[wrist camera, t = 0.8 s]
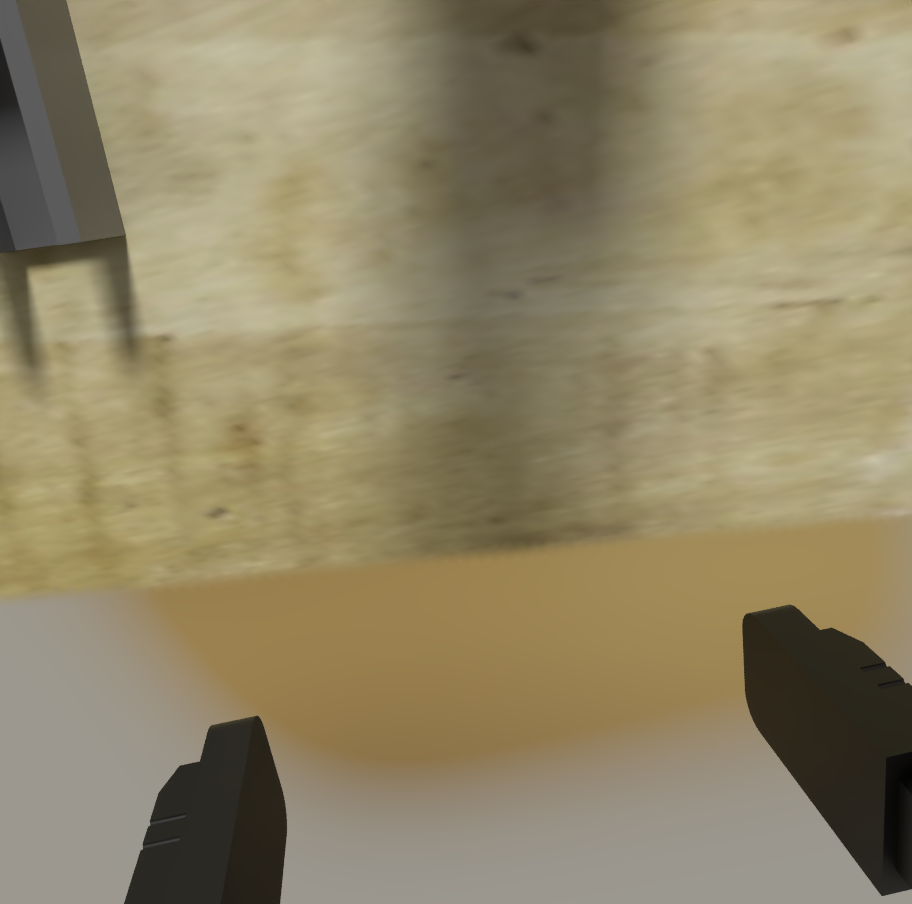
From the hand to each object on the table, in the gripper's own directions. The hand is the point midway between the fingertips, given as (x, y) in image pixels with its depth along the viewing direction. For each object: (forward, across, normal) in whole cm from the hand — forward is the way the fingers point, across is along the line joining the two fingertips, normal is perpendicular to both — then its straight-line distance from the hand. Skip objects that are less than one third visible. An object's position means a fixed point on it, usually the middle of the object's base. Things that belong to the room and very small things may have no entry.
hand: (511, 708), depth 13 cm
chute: (+26, +13, -13) cm, 32 cm away
